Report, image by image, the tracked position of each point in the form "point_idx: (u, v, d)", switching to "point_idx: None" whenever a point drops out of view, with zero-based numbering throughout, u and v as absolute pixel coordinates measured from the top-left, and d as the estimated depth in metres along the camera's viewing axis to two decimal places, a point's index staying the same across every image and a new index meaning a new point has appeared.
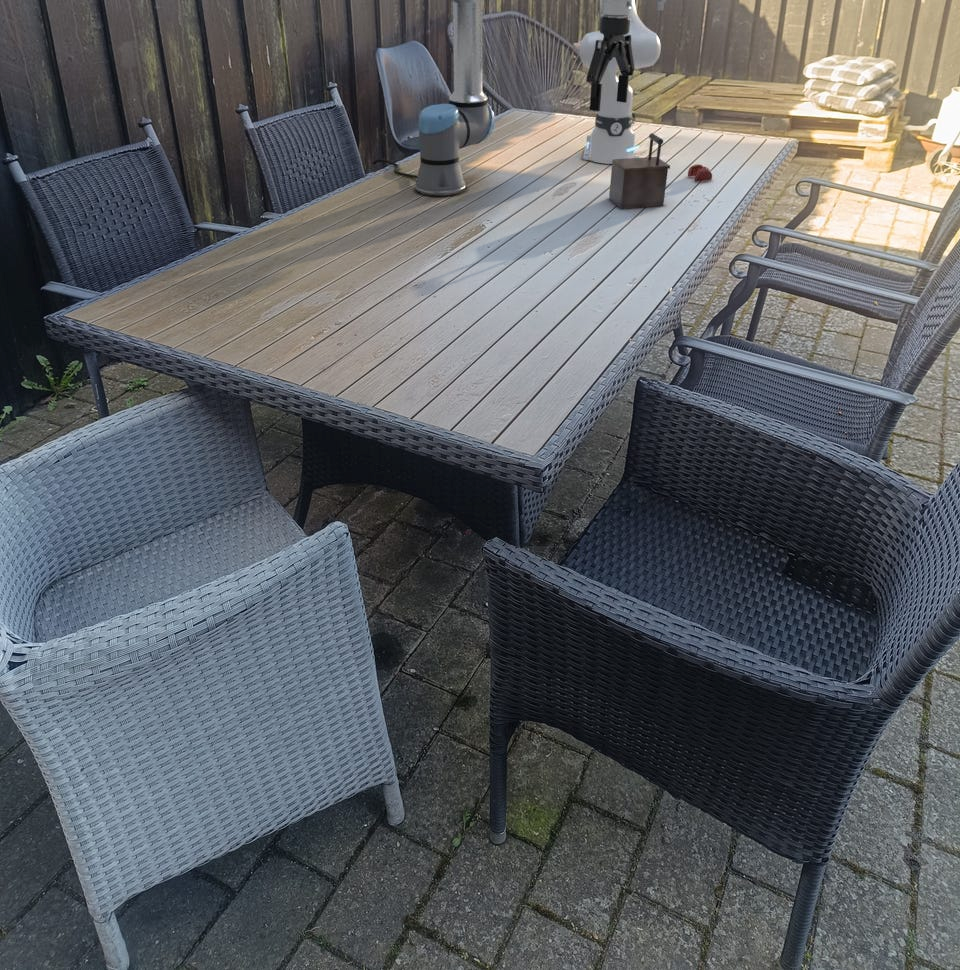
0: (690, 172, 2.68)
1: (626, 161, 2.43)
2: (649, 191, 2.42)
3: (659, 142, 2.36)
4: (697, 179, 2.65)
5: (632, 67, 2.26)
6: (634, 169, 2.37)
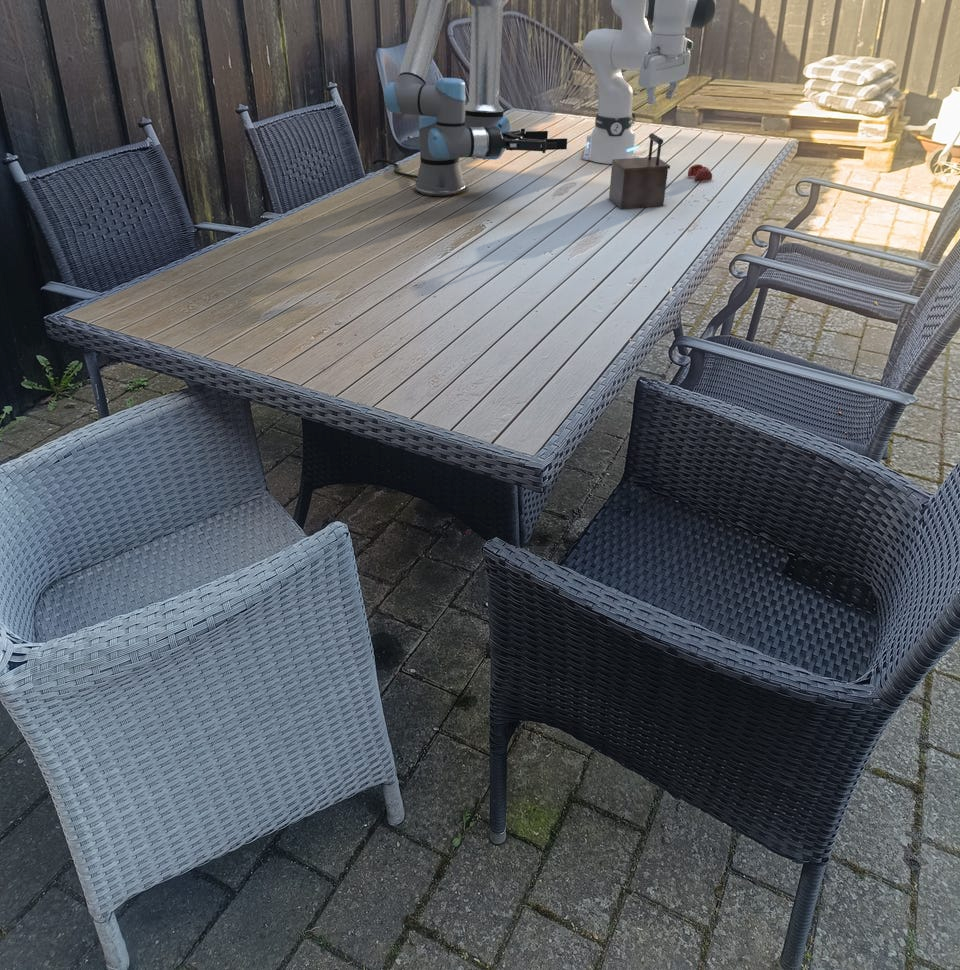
0: (690, 172, 2.68)
1: (626, 161, 2.43)
2: (649, 191, 2.42)
3: (659, 142, 2.36)
4: (697, 179, 2.65)
5: None
6: (634, 169, 2.37)
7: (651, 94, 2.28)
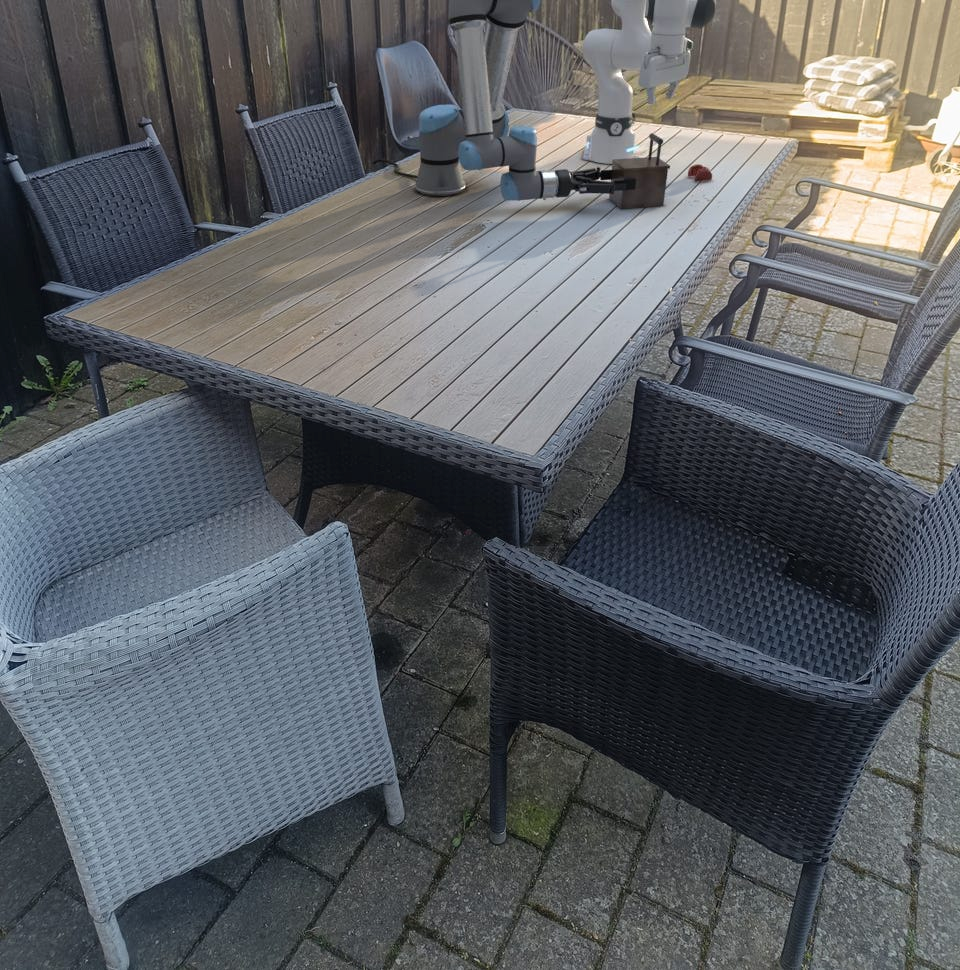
0: (690, 172, 2.68)
1: (626, 161, 2.43)
2: (649, 191, 2.42)
3: (659, 142, 2.36)
4: (697, 179, 2.65)
5: None
6: (634, 169, 2.37)
7: (651, 94, 2.28)
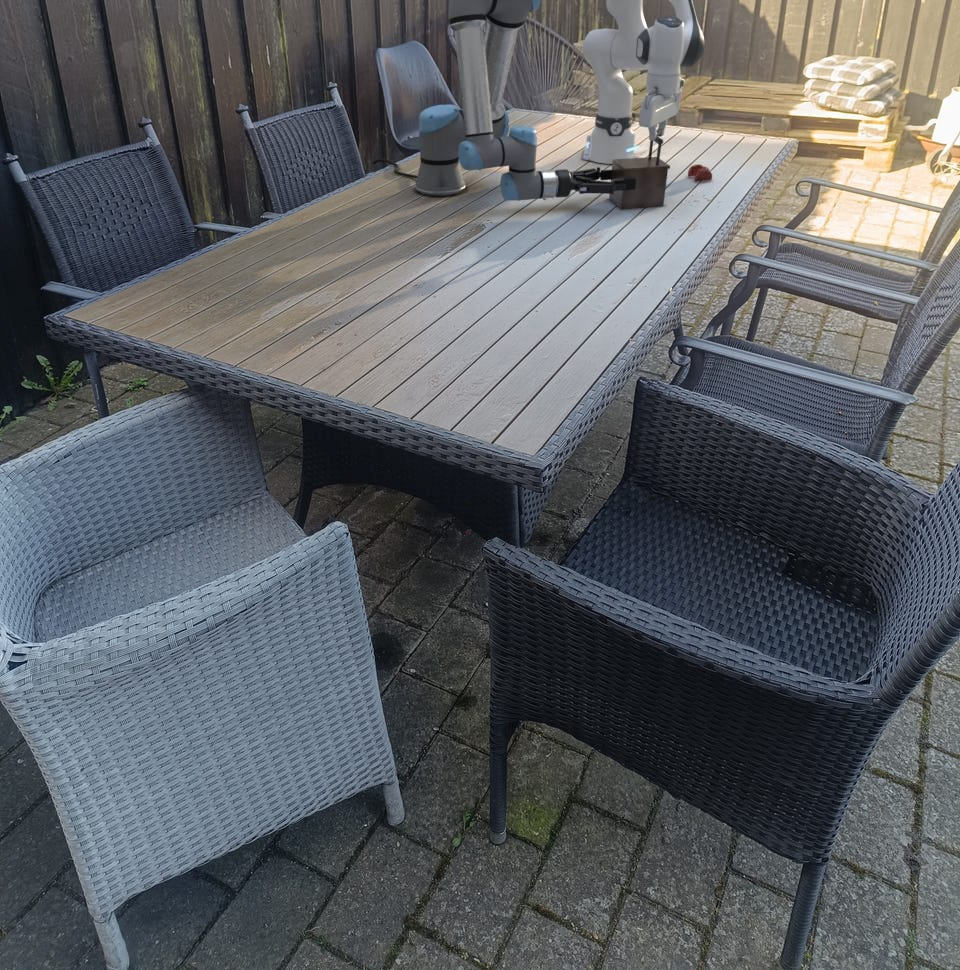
0: (690, 172, 2.68)
1: (626, 161, 2.43)
2: (649, 191, 2.42)
3: (659, 142, 2.36)
4: (697, 179, 2.65)
5: None
6: (634, 169, 2.37)
7: (653, 131, 2.34)
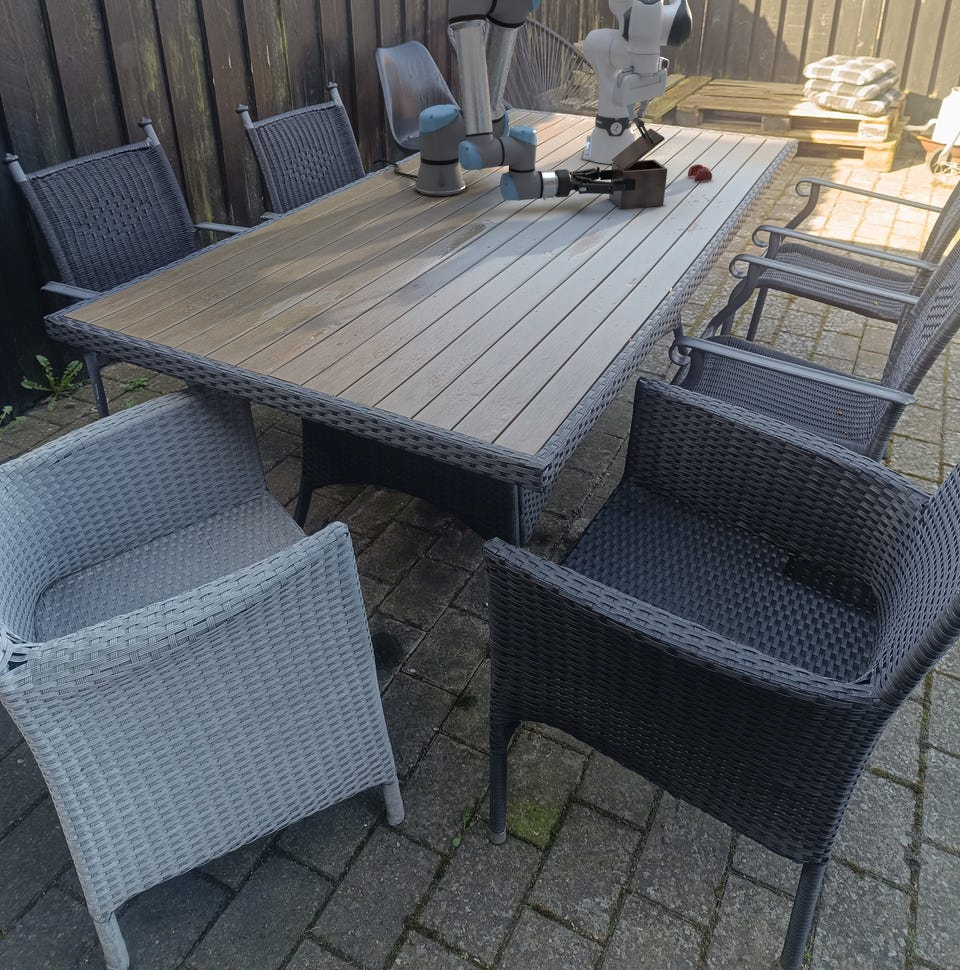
0: (690, 172, 2.68)
1: (624, 155, 2.41)
2: (649, 191, 2.42)
3: (641, 125, 2.32)
4: (697, 179, 2.65)
5: None
6: (632, 163, 2.36)
7: (631, 111, 2.31)
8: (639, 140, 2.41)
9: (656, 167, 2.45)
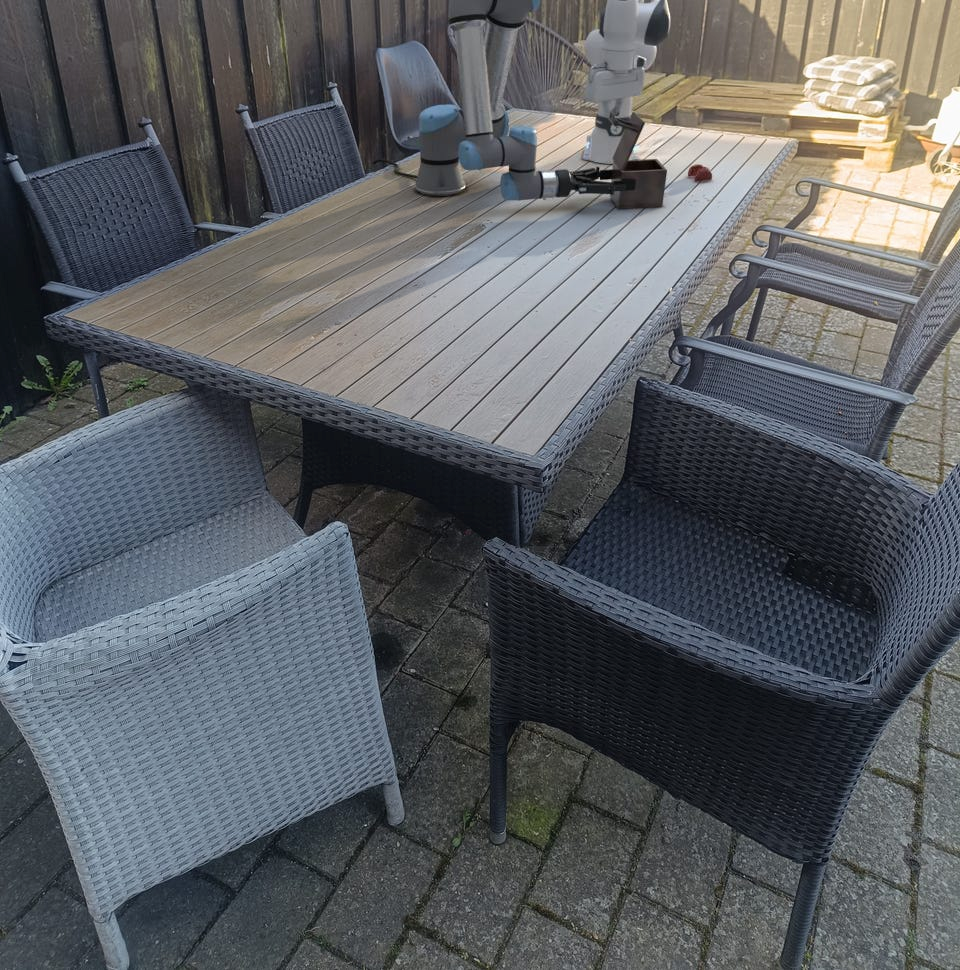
0: (690, 172, 2.68)
1: (619, 151, 2.40)
2: (648, 192, 2.42)
3: (616, 125, 2.30)
4: (697, 179, 2.65)
5: None
6: (626, 160, 2.35)
7: (606, 108, 2.29)
8: (627, 129, 2.38)
9: (657, 167, 2.44)
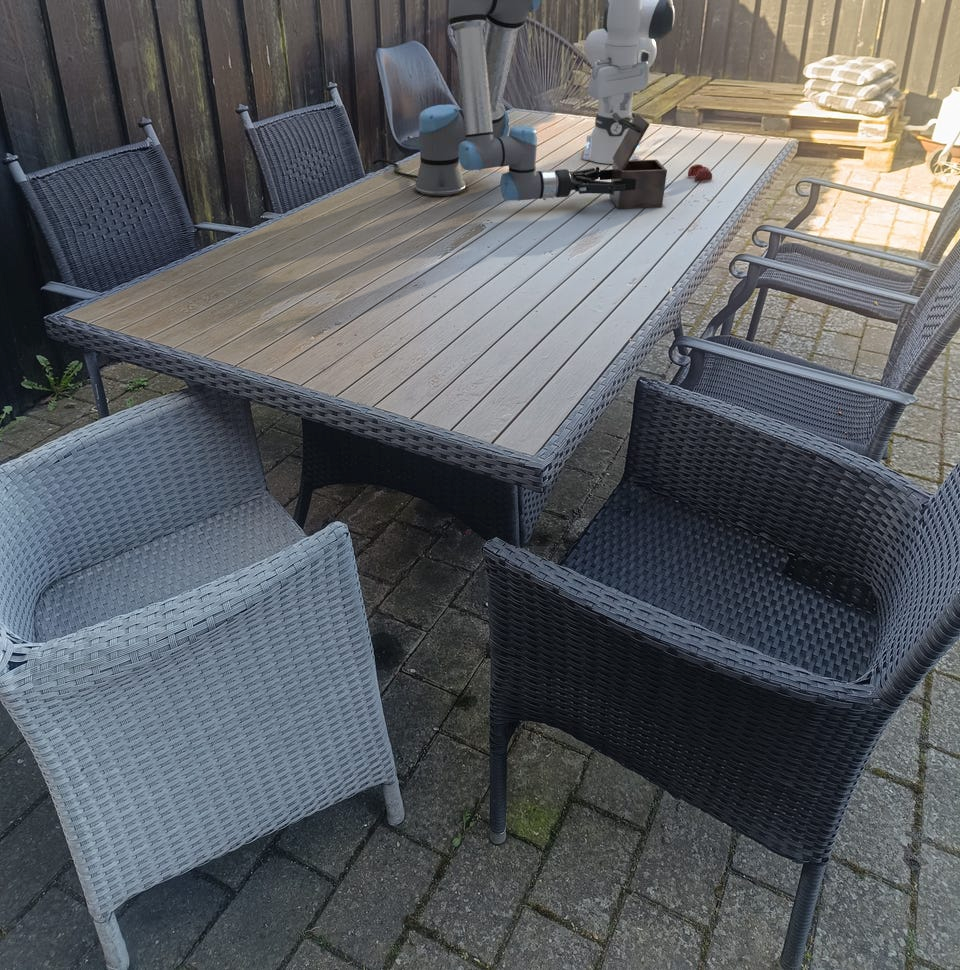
0: (690, 172, 2.68)
1: (620, 151, 2.41)
2: (647, 192, 2.42)
3: (620, 123, 2.31)
4: (697, 179, 2.65)
5: None
6: (627, 160, 2.35)
7: (607, 104, 2.28)
8: (630, 130, 2.39)
9: (657, 167, 2.44)
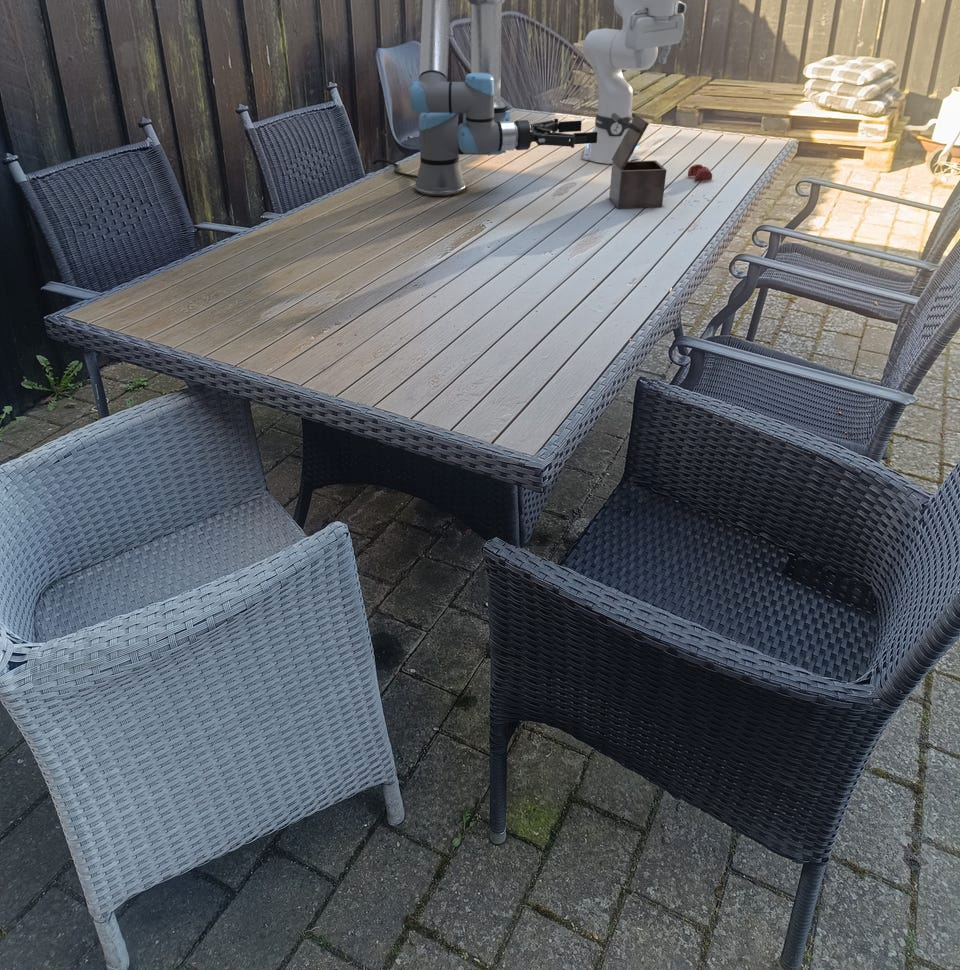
0: (690, 172, 2.68)
1: (619, 152, 2.41)
2: (647, 191, 2.42)
3: (620, 122, 2.31)
4: (697, 179, 2.65)
5: None
6: (627, 159, 2.36)
7: (639, 58, 2.22)
8: (629, 131, 2.39)
9: (656, 168, 2.44)
